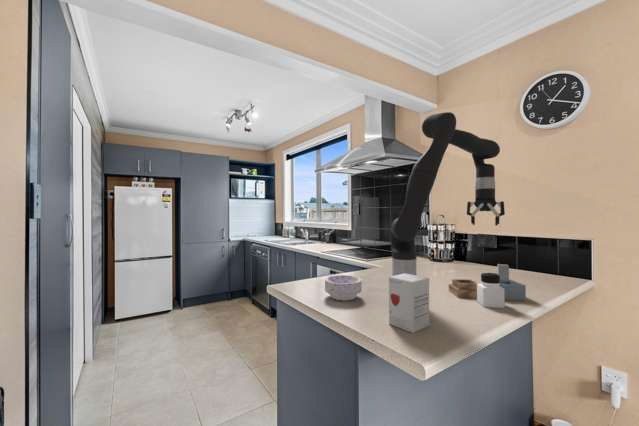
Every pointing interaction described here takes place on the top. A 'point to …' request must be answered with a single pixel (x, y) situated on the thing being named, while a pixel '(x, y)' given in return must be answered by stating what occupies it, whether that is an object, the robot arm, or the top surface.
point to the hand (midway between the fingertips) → (484, 225)
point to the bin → (514, 290)
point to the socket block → (463, 288)
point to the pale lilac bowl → (343, 287)
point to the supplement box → (409, 302)
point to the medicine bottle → (490, 291)
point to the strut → (503, 273)
